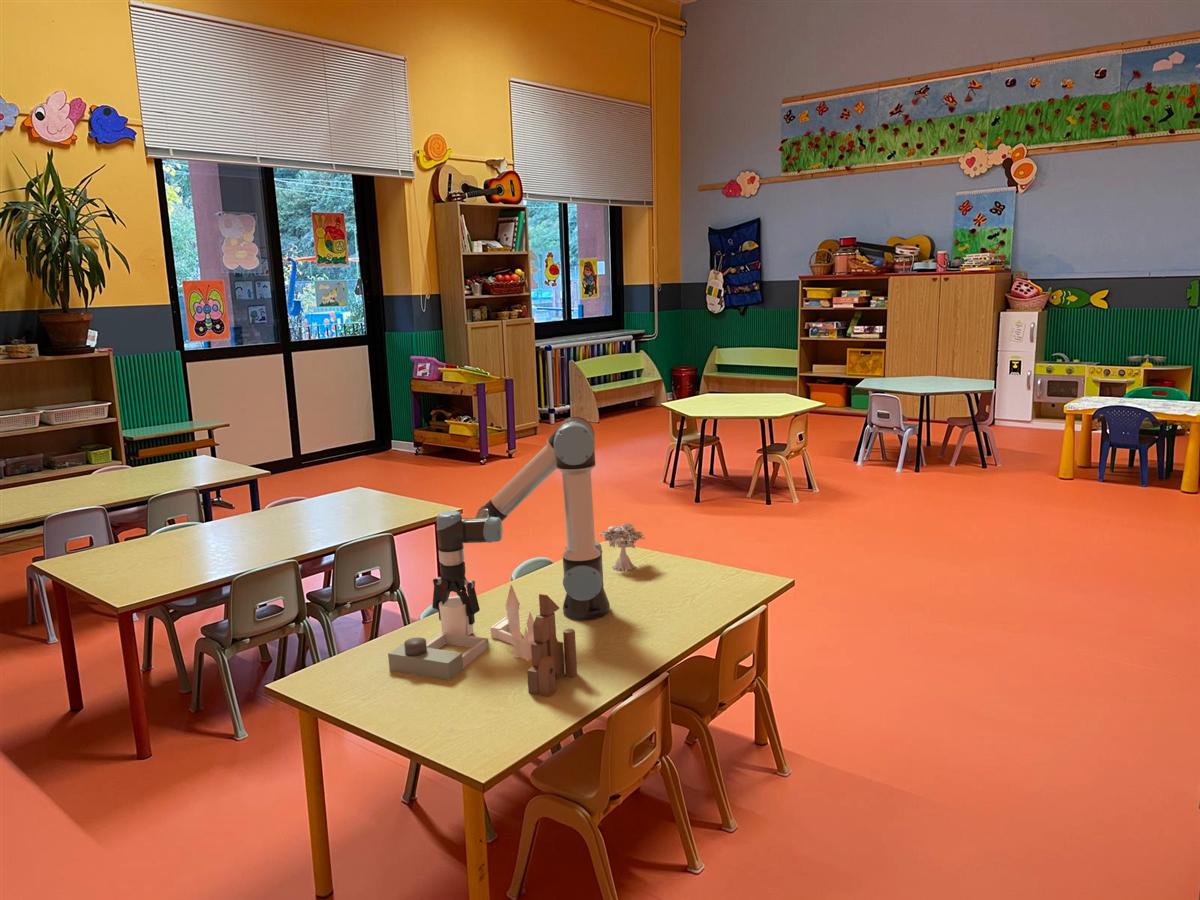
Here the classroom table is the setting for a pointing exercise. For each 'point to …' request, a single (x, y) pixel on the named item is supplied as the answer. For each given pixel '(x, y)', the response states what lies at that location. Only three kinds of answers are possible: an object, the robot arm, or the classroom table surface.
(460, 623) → the mug
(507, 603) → the toy castle
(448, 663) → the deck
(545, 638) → the wooden toy
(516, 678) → the classroom table surface
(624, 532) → the tree
